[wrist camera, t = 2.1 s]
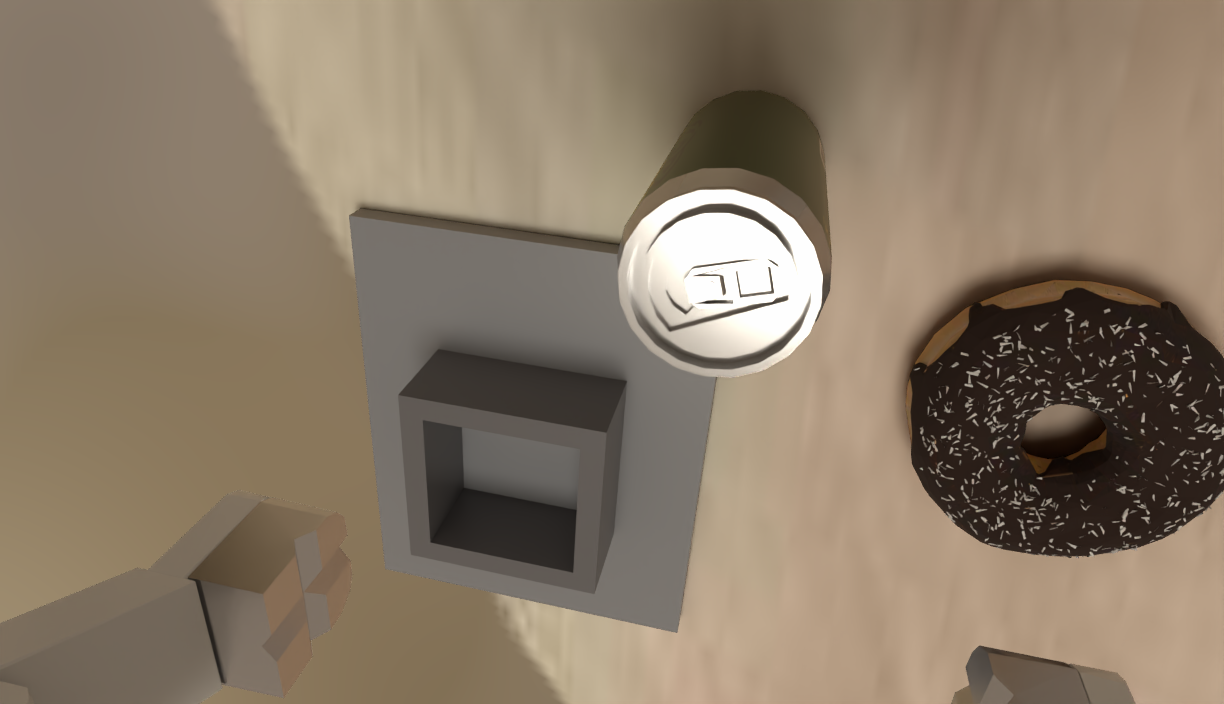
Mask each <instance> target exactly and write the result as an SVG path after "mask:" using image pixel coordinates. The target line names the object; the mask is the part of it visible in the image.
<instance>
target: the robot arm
mask: <svg viewBox="0 0 1224 704" xmlns="http://www.w3.org/2000/svg"><path fill="white" fill-rule="evenodd" d="M346 537H347V530H346V525H345V518H344V516H342V515H340V514H339V513H337V512H333V511H329V510H325V509H321V508H316V507H312V506H308V505H303V504H299V503H295V502H290V501H287V500H282V499H278V498H273V497H266V496H262V495H258V494H254V493H250V492H245V491H241V490H237V491H234V492H232V493H229V494H227V495H226V496H224V497H223V498H222V499H221V500H220V501H219V502H218V503H217V504H216V505H215V506H214V507H213V508H212V509H211V510H210V511H209V512H208V513H207V514H206V515H204V516H203V517H202V519H200V520H199V521H198V522H197V523H196V524H195V525H194V526H193V527H192V528H191V529H190V530H189V531H188V532H187V533H186V534H185V535H184V536H183V537H181V538H180V539H179V541H177V542H176V544H174V545H173V546H172V547H171V548H170V549H169V550H168V551H167V552H166V553H165V554H164V555H163V556H162V557H161V558H160V559H158V561H156V562H155V563H154V564H153V565H152V566H151V567H150V568H149V569H148V570H146V569H141V568H135V569H133V570H131V571H128V572H125V573H123V574H121V575H118V576H116V577H113V578H111V579H108V580H106V581H103V582H101V583H98V584H96V585H94V586H91V587H88V588H86V589H84V590H81V591H79V592H76V593H74V594H71V595H69V596H66V597H64V598H61V599H59V600H57V601H54V602H52V603H49V604H47V605H44V606H42V607H39V608H37V609H34V610H32V611H29V612H27V613H24V614H22V615H19V616H17V617H14V618H12V619H10V620H7V621H5V622H2V623H0V704H200V703H201V702H203V701H204V700H206V699H207V698H209V697H210V696H212V695H214V694H215V693H217V692H218V691H220V690H221V689H222V685H226V686H231V687H235V688H240V689H244V690H249V691H254V692H258V693H263V694H267V695H272V696H277V697H281V698H284V697H285V695H286V694H287V693H288V691H289V690H290V689H291V687H292V686H293V684H294V683H295V681H296V680H297V678H298V677H299V675H300V674H301V673H302V671H303V669H304V668H305V667H306V665H307V664H308V662H309V661H310V659H311V658H312V657H313V656H312V655H313V654H312V645H311V640H312V639H315V638H316V637H318V636H320V635H322V634H324V633H326V632H327V631H329V630H331V629H332V627H333V626H334V624H335V623H336V621H337V620H338V618H339V617H340V615H341V614H342V612H343V609H344V606H345V604H346V601H347V598H348V595H349V593H350V588H351V580H352V569H351V561H350V559H349V558H348V557H347V556H346V554H345V553H344V552H343V551H342V549H341V548H340V547H339V546H340V545H341V544H342V542H343V541H344V540H345V538H346ZM966 671H967V676H968V680H969V686H967V687H965V688H963V689H961V690H959V691H957V692H955V694H954V697H953V700H952V703H951V704H1135V701H1134V699H1133V697H1132V694H1131V692H1130V690H1129V688H1128V685H1127V683H1126V681H1125V680H1124V679H1123V678H1122V677H1121V676H1120V675H1119V674H1118V673H1115V672H1110V671H1105V670H1100V669H1095V668H1090V667H1085V666H1080V665H1075V664H1066V663H1064V662H1059V661H1054V660H1049V659H1044V658H1039V657H1034V656H1029V655H1024V654H1019V653H1014V652H1009V651H1004V650H999V649H994V648H989V647H984V646H978V647H977V648H976V649H975V650H974V651H973V652H972V654H971V656H970V659H969V661H968V663H967V665H966Z"/></svg>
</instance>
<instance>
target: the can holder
mask: <svg viewBox="0 0 1224 704" xmlns="http://www.w3.org/2000/svg"><path fill="white" fill-rule="evenodd" d="M349 220H350V229H351V239H352V249H353V259H354V268H355V278H356V288H357V298H358V307H359V317H360V327H361V336H362V346H363V356H364V364H365V365H364V366H365V375H366V385H367V395H368V404H369V415H370V424H371V433H372V443H373V453H374V463H375V472H376V482H377V492H378V502H379V512H380V521H381V531H382V541H383V551H384V561H385V569H388V570H393V571H397V572H402V573H407V574H411V575H415V576H420V577H424V578H429V579H434V580H438V581H443V582H447V583H452V584H456V585H461V586H466V587H471V588H475V589H479V590H484V591H489V592H493V593H498V594H502V595H507V596H511V597H516V598H520V599H525V600H530V601H534V602H539V603H543V604H548V605H552V606H557V607H561V608H566V609H571V610H575V611H580V612H584V613H589V614H593V615H598V616H603V617H607V618H612V619H616V620H621V621H625V622H630V623H635V624H639V625H644V626H648V627H653V628H657V629H662V630H667V631H671V632H676V633H677V632H678V627H679V621H680V615H681V609H682V602H683V595H684V589H685V582H686V576H687V569H688V563H689V556H690V549H691V543H692V536H693V530H694V523H695V516H696V510H697V503H698V497H699V490H700V483H701V477H702V470H703V464H704V457H705V450H706V444H707V437H708V431H709V424H710V417H711V411H712V404H713V398H714V391H715V384H716V378H717V377H708V376H701V375H698V374H694V373H691V372H688V371H685V370H682V369H679V368H676V367H674V366H672V365H671V364H669V363H668V362H666V361H665V360H663V359H662V358H660V357H659V356H657V355H656V354H654V353H653V352H651V351H650V350H649V349H648V348H647V347H646V346H645V344H644V343H643V342H642V341H641V340H640V338H639V337H638V336H637V335H636V334H635V332H634V331H633V330H632V329H631V327H630V325H629V323H628V320H627V318H626V315H625V313H624V311H623V308H622V306H621V303H620V300H619V286H618V264H617V254H618V250H619V247H620V245H615V244H608V243H601V242H594V241H587V240H580V239H573V238H566V237H559V236H552V235H545V234H538V233H531V232H524V231H517V230H510V229H502V228H495V227H488V226H481V225H474V224H467V223H460V222H453V221H446V220H439V219H432V218H425V217H418V216H411V215H404V214H397V213H390V212H383V211H376V210H369V209H362V208H361V209H359V210H357V211H356V212H354V213H353V214H351V215H349Z"/></svg>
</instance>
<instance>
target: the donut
mask: <svg viewBox="0 0 1224 704" xmlns="http://www.w3.org/2000/svg"><path fill="white" fill-rule="evenodd" d="M1054 404H1068V405H1076V406H1080V407H1084V408H1088V409H1091V410H1090V411H1094V412H1096V413H1097V414H1098V415H1099V417H1100V418H1101V419H1102V421H1103V422H1104V424H1105V426H1106V430H1105V431H1104V432H1103V433H1102V434H1101V435H1100V437H1099V438H1098V439H1096V440H1094V441H1092V442H1090V443H1089V444H1088V445H1086V446H1085V447H1084V448H1083V449H1081V450H1080V451H1079V452H1077V453H1074V454H1072V455H1069V456H1067V457H1065V458H1064V457H1059V458H1056V459H1044V458H1040V457H1036V456H1032V455H1029V454H1027V453H1026V451H1025V449H1024V448H1023V447H1021V446H1020V445H1021V442H1022V439H1023V436H1024V434H1025V430H1026V423H1027V421H1029V420H1031V419H1033V418H1032V417H1033V416H1035V415H1036V414H1037V413H1039V412H1040V411H1042V410H1044V408H1046V407H1048V406H1051V405H1054ZM906 412H907V419H908V426H909V432H910V439H911V458H912V465H913V467H914V469H915V471H916V473H917V475H918V477H919V479H920V481H921V483H922V485H923V487H924V489H925V490H926V491H927V493H928V494H929V496H930V497H931V498H932V499H933V500H934V501H935V503H936V504H937V505H938V506H939V507H940V508H941V509H942V510H943V511H944V513H945V514H946V515H947V516H948V518H950V519H951V520H952V521H953V522H954V523H955V524H956V525H957V526H958V527H960V528H961V529H962V530H964V531H965V532H967V533H968V534H970V535H971V536H973V537H974V538H976V539H977V540H979V541H980V542H982V543H985V544H987V545H990V546H993V547H996V548H1000V549H1004V550H1010V551H1016V552H1022V553H1026V554H1032V555H1045V556H1046V555H1047V556H1046V557H1049V556H1065V557H1069V558H1071V557H1070V556H1076V558H1079V557H1078V556H1087V557H1090V556H1094V555H1097V554H1103V553H1116V552H1118V551H1122V550H1127V549H1132V550H1136V551H1137V548H1138V547H1141V546H1144V545H1147V544H1149V543H1152V542H1155V541H1158V540H1161V539H1163V538H1165V537H1166V536H1168V535H1170V534H1172V533H1175V532H1176V531H1177V530H1179V529H1180V528H1181V527H1183V526H1184V525H1186V524H1187V523H1188V522H1189V521H1191V520H1192V519H1194V518H1195V517H1196V516H1199V515H1201V514H1203V511H1205V512H1206V510H1207V509H1208V508H1210V509H1211V507H1210V505H1211V504H1212V503H1213V502H1214V501H1215V500H1216V499H1217V498H1218V497H1219V496H1220V495H1221V494H1223V490H1224V358H1223V356H1222V355H1221V354H1220V352H1219V351H1218V350H1217V349H1216V348H1215V347H1214V346H1213V344H1212V343H1211V342H1210V341H1208V340H1207V339H1206V338H1204V337H1203V336H1202V335H1201V334H1199V333H1198V332H1197V331H1196V330H1194V329H1193V328H1192V327H1191V326H1190V324H1189V323H1188V321H1187V320H1186V318H1185V317H1184V316H1183V314H1182V313H1181V311H1180V310H1179V308H1178V307H1177V306H1176V305H1175V304H1173V303H1171V302H1168V301H1165V302H1162V303H1159V302H1157V301H1156V300H1154V299H1152V298H1149V297H1147V296H1144V295H1142V294H1139V293H1137V292H1134V291H1132V290H1129V289H1126V288H1122V287H1117V286H1112V285H1107V284H1102V283H1097V282H1092V281H1069V280H1052V281H1048V282H1043V283H1039V284H1034V285H1029V286H1025V287H1020V288H1016V289H1011V290H1009V291H1006V292H1004V293H1001V294H999V295H996V296H994V297H991V298H989V299H986V300H984V301H981V302H979V303H974V304H973V305H971V306H969V307H967V308H965V309H964V310H963V311H962V312H961V313H959V314H958V315H957V316H956V317H955V318H953V319H952V320H951V321H950V322H949V323H947V324H946V325H945V326H944V327H943V328H941V329H940V330H939V331H938V332H937V333H935V334H934V336H933V337H932V339H931V340H930V342H929V343H928V345H927V346H926V348H925V349H924V351H923V352H922V353H921V355H920V356H919V358H918V359H917V361H916V362H915V365H914V367H913V369H912V372H911V374H910V380H909V382H908V386H907V396H906Z"/></svg>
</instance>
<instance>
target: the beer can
mask: <svg viewBox="0 0 1224 704" xmlns="http://www.w3.org/2000/svg"><path fill="white" fill-rule="evenodd" d="M617 264H618V286H619V300H620V303H621V306H622V308H623V311H624V313H625V315H626V318H627V320H628V323H629V325H630V327H631V329H632V330H633V331H634V332H635V334H636V335H637V336H638V337H639V338H640V340H641V341H642V342H643V343H644V344H645V346H646V347H647V348H648V349H649V350H650V351H651V352H653V353H654V354H656V355H657V356H659V357H660V358H662V359H663V360H665V361H666V362H668V363H669V364H671V365H672V366H674V367H676V368H679V369H682V370H685V371H688V372H691V373H694V374H698V375H701V376H708V377H730V378H734V377H738V376H742V375H747V374H751V373H755V372H759V371H763V370H765V369H767V368H768V367H770V366H772V365H774V364H775V363H777V362H779V361H781V360H782V359H784V358H786V357H788V356H789V355H790V354H791V353H792V352H793V351H794V350H795V349H796V347H797V346H798V345H799V344H800V343H801V342H802V341H803V340H804V339H805V338H806V336H807V335H808V334H809V333H810V330H811V328H812V326H813V324H814V323H815V322H816V321H817V319H818V317H819V315H820V312H821V310H822V308H823V305H824V303H825V301H826V298H827V296H828V294H829V291H830V280H831V264H832V254H831V240H830V226H829V212H828V199H827V185H826V171H825V157H824V151H823V148H822V144H821V141H820V137H819V133H818V131H817V129H816V128H815V126H814V125H813V123H812V122H811V121H810V119H809V118H808V116H807V115H806V113H805V112H804V111H803V110H801V109H800V108H799V107H797V106H796V105H794V104H793V103H792V102H790V101H789V100H787V99H786V98H785V97H782V96H778V95H775V94H772V93H768V92H765V91H762V90H756V91H736V92H733V93H730V94H728V95H725V96H722V97H719V98H717V99H714V100H713V101H711V102H710V103H709V104H707V105H706V106H705V107H704V108H702V109H701V110H700V111H699V112H697V113H696V114H695V115H694V116H693V118H692V119H691V121H690V122H689V124H688V125H687V127H686V128H685V130H684V131H683V133H682V134H681V136H680V137H679V139H678V141H677V142H676V144H675V146H674V147H673V149H672V150H671V152H670V154H669V155H668V157H667V159H666V160H665V162H664V163H663V165H662V167H661V168H660V170H659V172H658V173H657V175H656V176H655V178H654V180H653V181H652V183H651V185H650V186H649V188H648V189H647V191H646V193H645V194H644V196H643V198H642V199H641V201H640V203H639V204H638V206H637V207H636V209H635V211H634V212H633V214H632V216H631V217H630V219H629V220H628V222H627V224H626V225H625V228H624V232H623V235H622V239H621V243H620V247H619V250H618V254H617Z"/></svg>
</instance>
